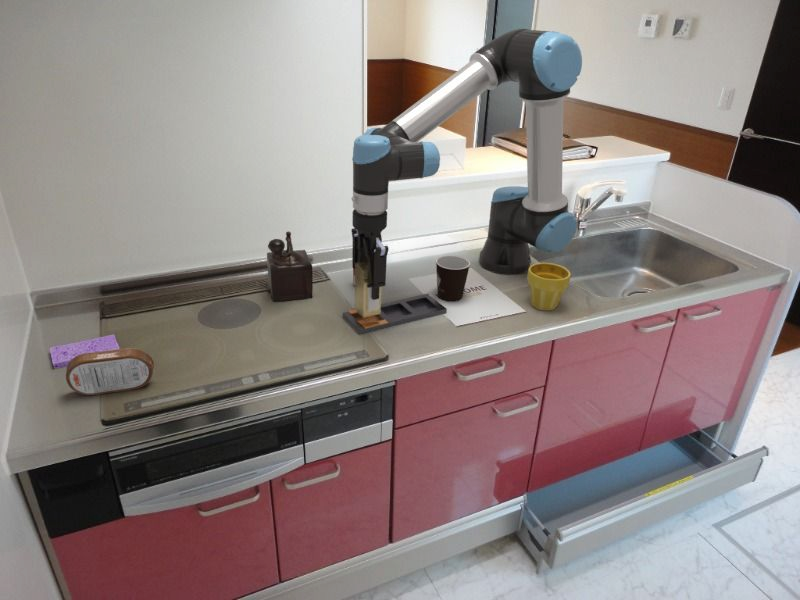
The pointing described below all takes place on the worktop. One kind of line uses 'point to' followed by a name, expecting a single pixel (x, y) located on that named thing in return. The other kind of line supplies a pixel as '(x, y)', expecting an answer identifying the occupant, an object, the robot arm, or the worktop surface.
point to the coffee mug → (451, 277)
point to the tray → (395, 314)
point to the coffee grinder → (288, 272)
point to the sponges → (81, 349)
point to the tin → (109, 371)
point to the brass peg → (363, 290)
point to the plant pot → (547, 284)
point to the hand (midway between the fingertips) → (367, 304)
